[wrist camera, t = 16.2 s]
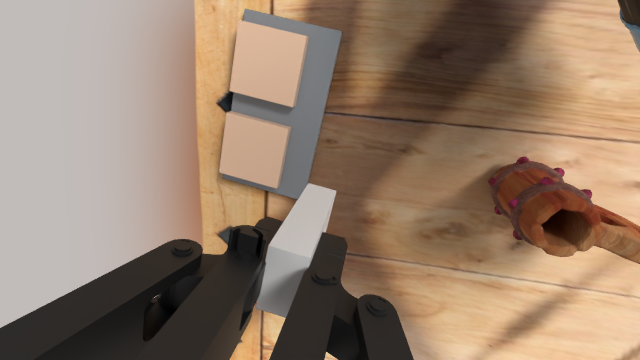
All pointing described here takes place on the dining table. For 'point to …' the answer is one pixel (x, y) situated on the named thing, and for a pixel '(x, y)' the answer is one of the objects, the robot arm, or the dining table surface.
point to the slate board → (308, 105)
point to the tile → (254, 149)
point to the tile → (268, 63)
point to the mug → (559, 213)
